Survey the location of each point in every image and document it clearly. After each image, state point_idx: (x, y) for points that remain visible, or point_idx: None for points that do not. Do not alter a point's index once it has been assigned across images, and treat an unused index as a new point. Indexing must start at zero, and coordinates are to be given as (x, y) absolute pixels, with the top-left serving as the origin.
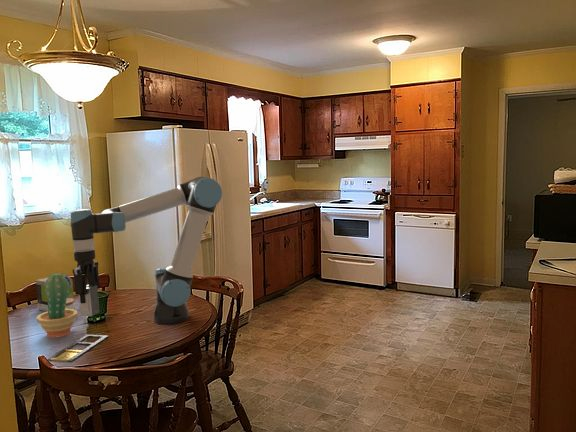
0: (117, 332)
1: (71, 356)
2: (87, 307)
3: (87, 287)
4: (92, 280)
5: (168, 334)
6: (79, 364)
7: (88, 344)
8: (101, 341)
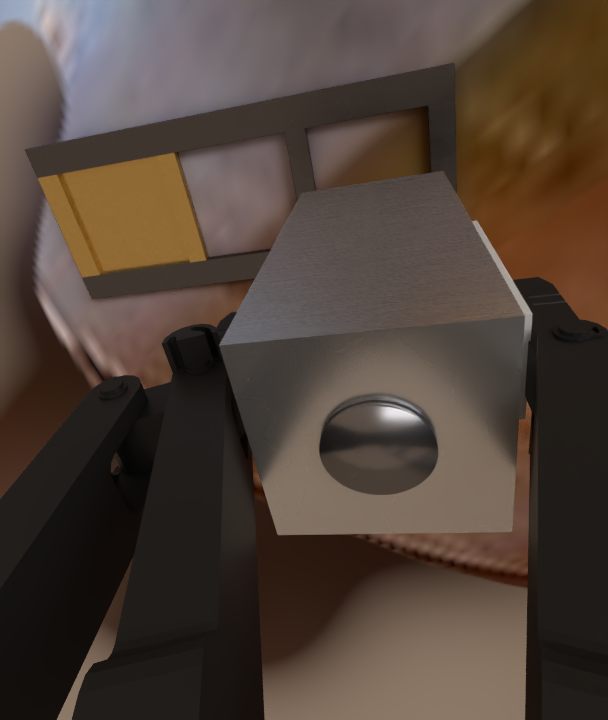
0: (545, 255)
1: (131, 252)
2: None
3: (324, 475)
4: (530, 557)
5: None
6: (99, 347)
7: None
8: None
